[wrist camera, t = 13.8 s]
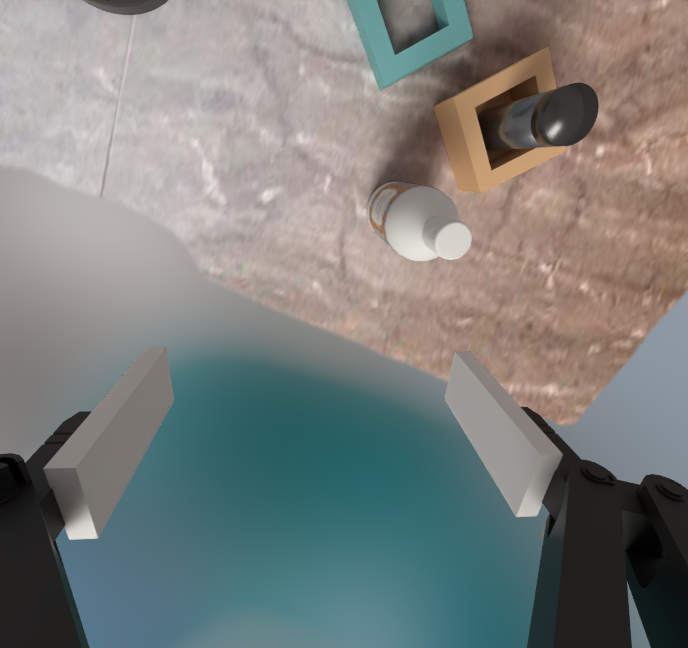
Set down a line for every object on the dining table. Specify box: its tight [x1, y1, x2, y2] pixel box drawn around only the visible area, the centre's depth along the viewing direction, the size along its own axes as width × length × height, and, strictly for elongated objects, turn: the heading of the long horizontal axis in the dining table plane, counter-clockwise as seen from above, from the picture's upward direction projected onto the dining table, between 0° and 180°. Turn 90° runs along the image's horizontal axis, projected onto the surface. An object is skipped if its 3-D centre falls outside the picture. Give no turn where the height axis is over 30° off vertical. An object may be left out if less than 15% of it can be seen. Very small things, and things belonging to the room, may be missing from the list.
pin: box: [477, 83, 598, 151], centre depth 35 cm, size 4×4×14 cm
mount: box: [347, 0, 473, 91], centre depth 35 cm, size 10×10×2 cm
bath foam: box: [367, 182, 472, 261], centre depth 35 cm, size 7×7×20 cm
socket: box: [433, 46, 567, 194], centre depth 39 cm, size 10×10×6 cm
